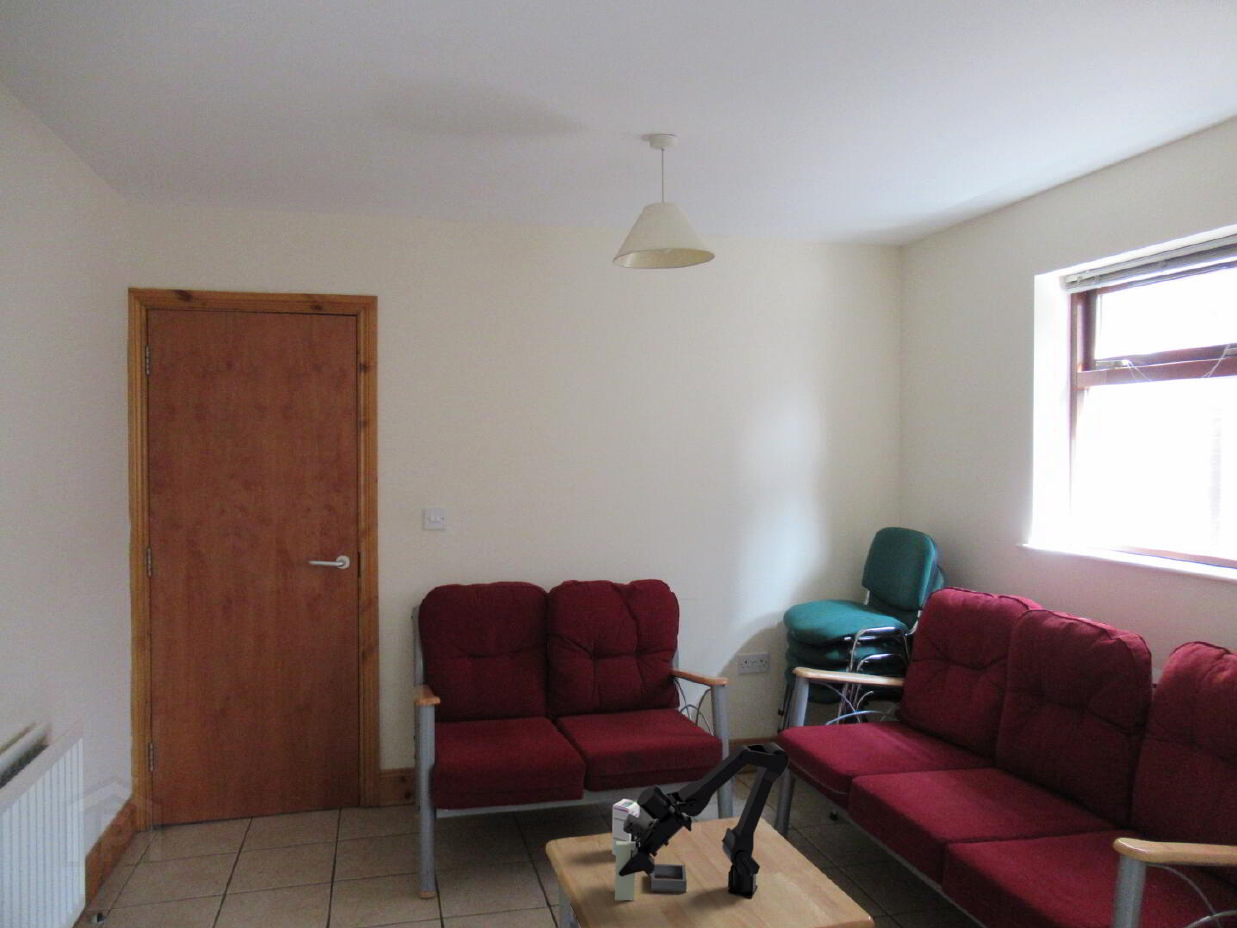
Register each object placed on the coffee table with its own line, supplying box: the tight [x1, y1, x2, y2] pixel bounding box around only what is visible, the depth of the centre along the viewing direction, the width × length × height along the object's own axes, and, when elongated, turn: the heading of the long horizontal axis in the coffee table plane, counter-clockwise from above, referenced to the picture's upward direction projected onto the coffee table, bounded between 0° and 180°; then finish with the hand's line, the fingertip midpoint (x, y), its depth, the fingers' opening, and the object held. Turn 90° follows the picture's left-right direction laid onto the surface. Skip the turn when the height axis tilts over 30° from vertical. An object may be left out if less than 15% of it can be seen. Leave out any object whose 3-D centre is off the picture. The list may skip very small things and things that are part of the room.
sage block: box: [614, 841, 636, 902], centre depth 231 cm, size 5×5×13 cm
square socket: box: [650, 863, 688, 894], centre depth 238 cm, size 9×9×3 cm
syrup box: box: [611, 798, 640, 857], centre depth 254 cm, size 6×6×14 cm
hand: (619, 869), depth 231 cm, fingers closed on sage block, 5 cm apart
